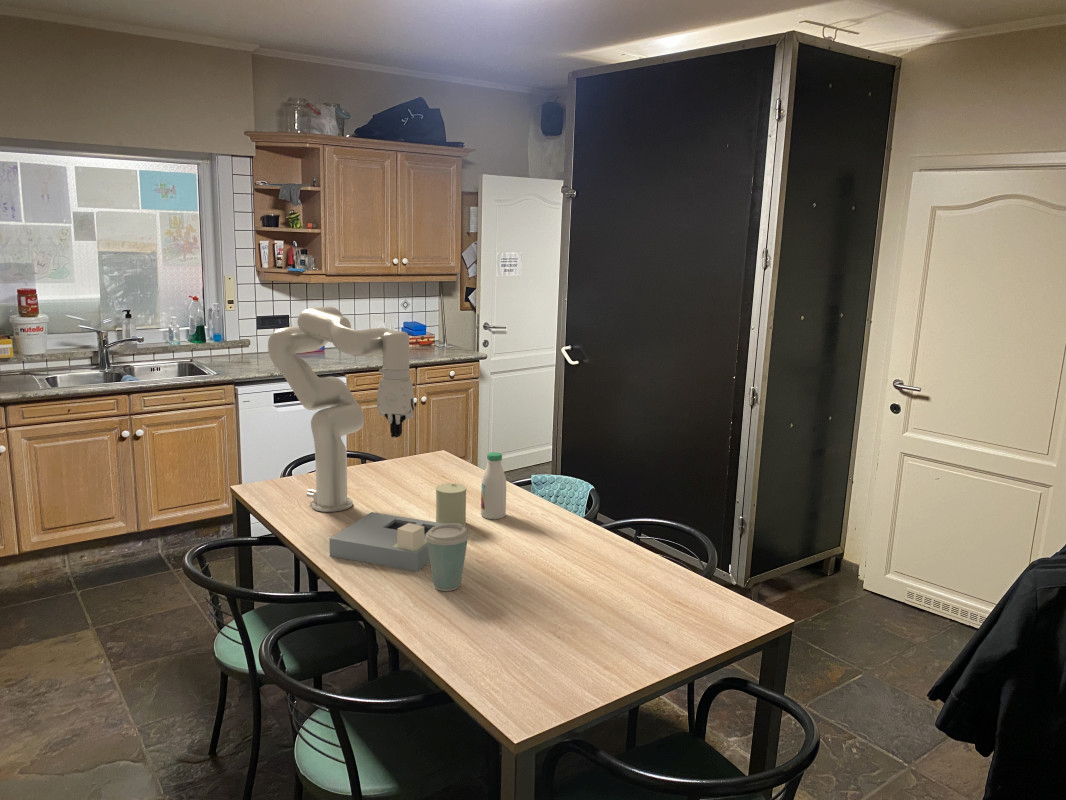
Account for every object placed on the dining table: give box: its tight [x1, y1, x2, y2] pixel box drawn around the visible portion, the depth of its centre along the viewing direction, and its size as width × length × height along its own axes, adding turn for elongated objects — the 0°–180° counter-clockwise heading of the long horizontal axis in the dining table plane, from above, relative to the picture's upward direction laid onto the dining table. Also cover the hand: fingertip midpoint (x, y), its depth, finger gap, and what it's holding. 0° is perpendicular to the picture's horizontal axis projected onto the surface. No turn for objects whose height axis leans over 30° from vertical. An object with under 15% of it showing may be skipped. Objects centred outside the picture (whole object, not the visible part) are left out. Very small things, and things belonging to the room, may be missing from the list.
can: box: [435, 482, 467, 527], centre depth 232 cm, size 9×9×12 cm
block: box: [397, 523, 424, 551], centre depth 204 cm, size 5×5×5 cm
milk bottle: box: [480, 451, 507, 520], centre depth 240 cm, size 8×8×20 cm
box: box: [328, 511, 444, 572], centre depth 214 cm, size 26×22×5 cm
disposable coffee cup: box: [426, 523, 470, 592], centre depth 191 cm, size 11×11×15 cm
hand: (396, 436), depth 227 cm, fingers closed
